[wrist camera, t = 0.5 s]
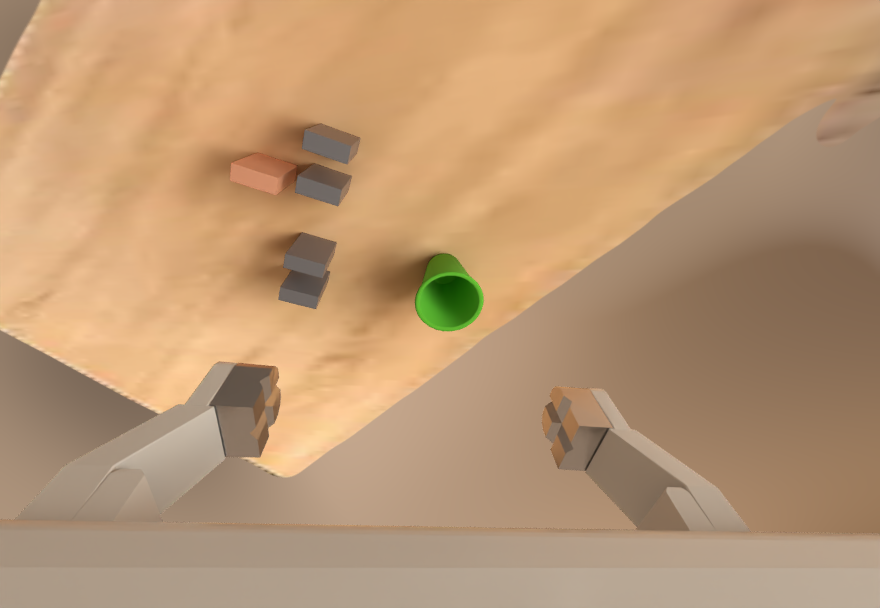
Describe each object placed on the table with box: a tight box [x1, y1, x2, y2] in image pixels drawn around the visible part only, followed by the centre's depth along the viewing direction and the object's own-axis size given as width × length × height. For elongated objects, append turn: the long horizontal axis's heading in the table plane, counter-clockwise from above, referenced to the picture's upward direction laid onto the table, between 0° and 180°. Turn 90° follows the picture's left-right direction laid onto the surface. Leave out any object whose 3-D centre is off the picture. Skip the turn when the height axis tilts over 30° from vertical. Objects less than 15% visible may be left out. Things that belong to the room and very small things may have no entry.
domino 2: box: [302, 124, 360, 164], centre depth 43 cm, size 2×5×8 cm, turn 70°
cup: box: [415, 254, 483, 331], centre depth 52 cm, size 9×9×11 cm
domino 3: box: [295, 163, 352, 206], centre depth 46 cm, size 2×5×8 cm, turn 70°
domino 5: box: [278, 270, 330, 309], centre depth 52 cm, size 2×5×8 cm, turn 70°
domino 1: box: [230, 153, 297, 195], centre depth 44 cm, size 2×5×8 cm, turn 70°
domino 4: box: [283, 232, 337, 278], centre depth 50 cm, size 2×5×8 cm, turn 70°
